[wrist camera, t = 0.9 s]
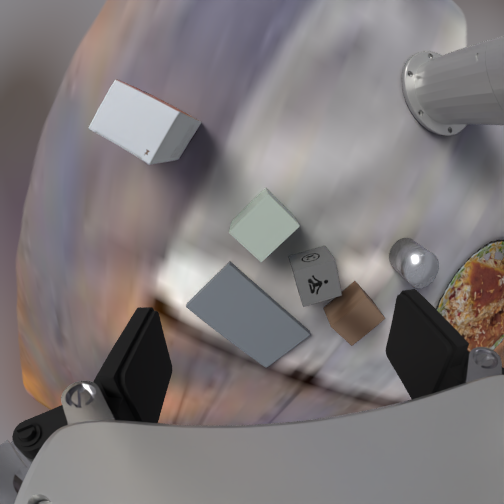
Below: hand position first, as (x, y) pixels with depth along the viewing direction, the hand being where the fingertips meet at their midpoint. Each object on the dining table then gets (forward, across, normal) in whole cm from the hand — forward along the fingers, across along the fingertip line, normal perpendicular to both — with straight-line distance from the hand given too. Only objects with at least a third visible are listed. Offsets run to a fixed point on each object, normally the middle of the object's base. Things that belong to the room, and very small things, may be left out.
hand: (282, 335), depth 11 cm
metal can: (+26, -21, +8) cm, 34 cm away
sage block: (+27, -1, +2) cm, 27 cm away
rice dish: (+27, -43, +20) cm, 54 cm away
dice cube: (+27, -7, +9) cm, 29 cm away
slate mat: (+27, +2, +16) cm, 31 cm away
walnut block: (+27, -13, +15) cm, 33 cm away
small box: (+27, +11, -11) cm, 31 cm away
